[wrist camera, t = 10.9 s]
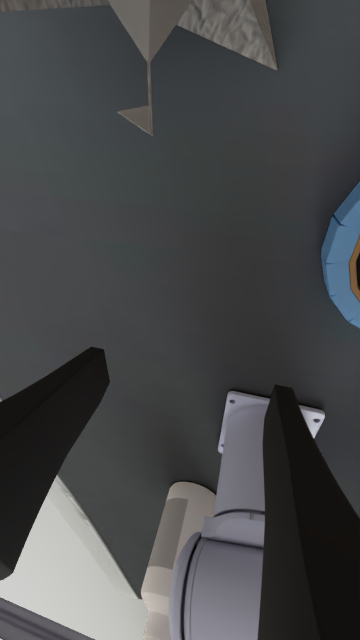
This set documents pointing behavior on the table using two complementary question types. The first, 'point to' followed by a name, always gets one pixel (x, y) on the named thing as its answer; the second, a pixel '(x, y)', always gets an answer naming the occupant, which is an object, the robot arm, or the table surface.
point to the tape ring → (344, 257)
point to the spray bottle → (172, 550)
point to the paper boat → (187, 12)
